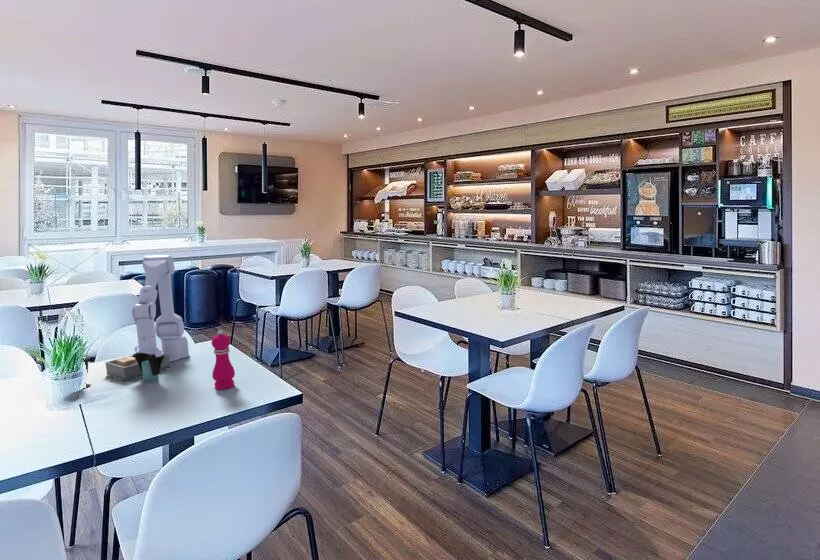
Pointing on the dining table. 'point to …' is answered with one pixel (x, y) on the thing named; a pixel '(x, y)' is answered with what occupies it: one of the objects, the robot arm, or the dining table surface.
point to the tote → (130, 369)
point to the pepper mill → (222, 362)
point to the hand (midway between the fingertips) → (150, 373)
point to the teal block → (148, 372)
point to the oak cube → (127, 361)
